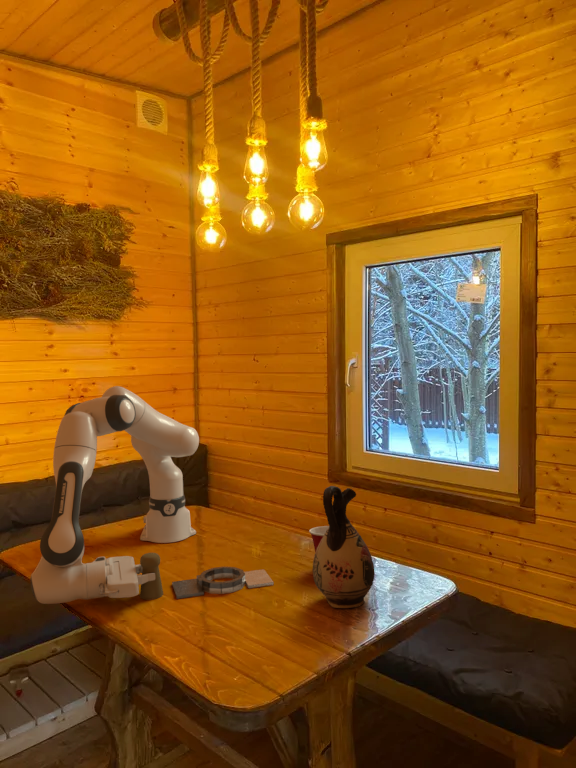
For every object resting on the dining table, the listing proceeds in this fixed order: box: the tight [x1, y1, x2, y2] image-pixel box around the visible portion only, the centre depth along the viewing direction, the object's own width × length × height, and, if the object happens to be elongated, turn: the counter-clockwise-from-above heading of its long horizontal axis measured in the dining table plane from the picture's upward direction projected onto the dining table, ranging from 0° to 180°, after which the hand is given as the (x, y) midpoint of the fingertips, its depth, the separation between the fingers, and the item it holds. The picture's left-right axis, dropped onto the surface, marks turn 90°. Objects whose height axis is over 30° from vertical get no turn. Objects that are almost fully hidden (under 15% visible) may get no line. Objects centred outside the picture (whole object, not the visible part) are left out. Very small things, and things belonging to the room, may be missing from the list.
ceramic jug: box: [312, 485, 376, 609], centre depth 154 cm, size 17×15×30 cm
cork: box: [139, 552, 164, 601], centre depth 163 cm, size 6×6×11 cm
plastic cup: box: [308, 525, 329, 553], centre depth 177 cm, size 11×11×12 cm
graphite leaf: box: [171, 566, 245, 600], centre depth 167 cm, size 12×19×3 cm, turn 108°
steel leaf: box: [202, 569, 274, 595], centre depth 170 cm, size 12×19×1 cm, turn 108°
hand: (154, 572), depth 163 cm, fingers closed on cork, 4 cm apart
